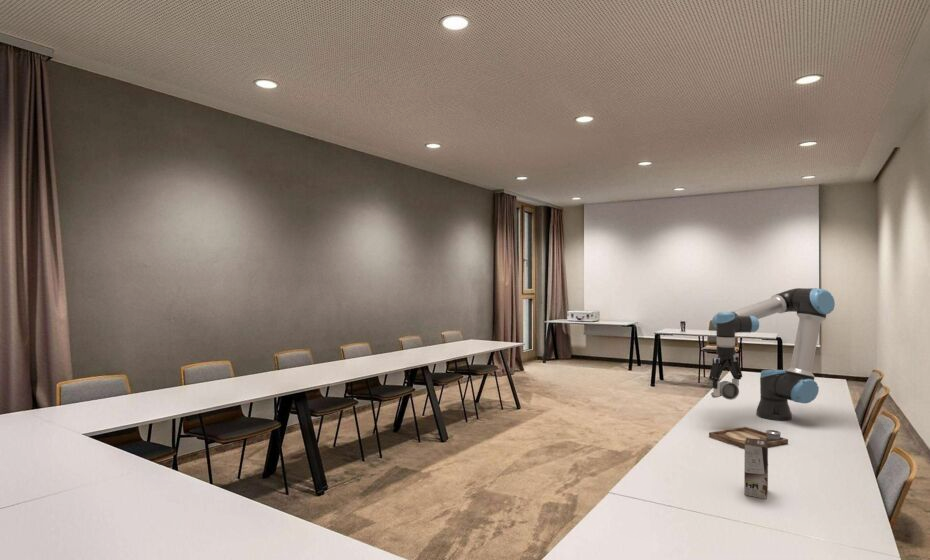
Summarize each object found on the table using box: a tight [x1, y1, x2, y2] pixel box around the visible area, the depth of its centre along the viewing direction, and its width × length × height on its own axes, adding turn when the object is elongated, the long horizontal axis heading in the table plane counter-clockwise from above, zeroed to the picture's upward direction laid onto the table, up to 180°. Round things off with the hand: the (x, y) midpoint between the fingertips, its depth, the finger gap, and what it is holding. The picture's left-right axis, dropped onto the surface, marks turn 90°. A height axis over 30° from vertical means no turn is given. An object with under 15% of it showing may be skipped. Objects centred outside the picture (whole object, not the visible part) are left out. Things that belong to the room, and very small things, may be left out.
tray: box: [708, 426, 789, 450], centre depth 221 cm, size 22×20×2 cm
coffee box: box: [743, 438, 769, 500], centre depth 168 cm, size 9×6×16 cm
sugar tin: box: [765, 429, 781, 442], centre depth 218 cm, size 5×5×5 cm
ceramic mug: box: [710, 380, 740, 401], centre depth 239 cm, size 11×8×8 cm
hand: (725, 394), depth 238 cm, fingers closed on ceramic mug, 11 cm apart
